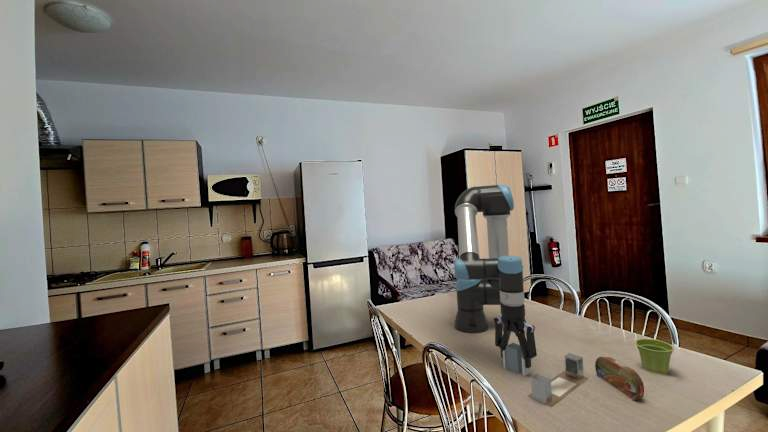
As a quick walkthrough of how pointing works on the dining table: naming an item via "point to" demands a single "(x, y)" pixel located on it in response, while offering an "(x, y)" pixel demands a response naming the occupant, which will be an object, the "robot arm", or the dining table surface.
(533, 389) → the near end finger
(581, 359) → the far end finger
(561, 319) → the dining table surface
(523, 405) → the dining table surface
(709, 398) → the dining table surface
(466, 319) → the robot arm
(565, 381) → the brown flat board
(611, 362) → the tin
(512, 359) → the block
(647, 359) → the plant pot
